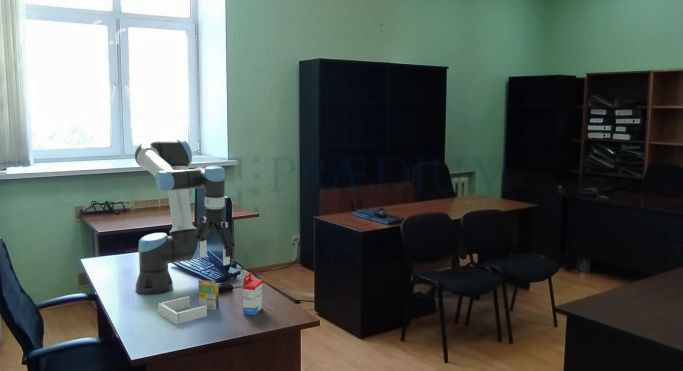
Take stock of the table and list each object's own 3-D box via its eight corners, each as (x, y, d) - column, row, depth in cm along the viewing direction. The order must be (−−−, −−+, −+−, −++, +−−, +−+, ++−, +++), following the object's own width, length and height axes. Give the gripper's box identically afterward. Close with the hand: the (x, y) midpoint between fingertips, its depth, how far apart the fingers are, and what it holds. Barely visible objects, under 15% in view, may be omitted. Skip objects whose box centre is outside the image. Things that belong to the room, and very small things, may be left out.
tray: (158, 313, 221) (158, 303, 220) (188, 305, 229) (188, 296, 229) (176, 324, 211) (176, 314, 210) (206, 316, 219) (206, 306, 219)
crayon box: (219, 307, 229) (218, 279, 227) (216, 310, 226) (215, 281, 224) (201, 305, 230) (201, 277, 228) (198, 308, 227) (198, 279, 225)
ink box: (254, 315, 221) (254, 279, 219) (242, 314, 222) (242, 277, 219) (262, 308, 229) (262, 272, 227) (250, 306, 230) (250, 271, 228)
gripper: (185, 203, 225) (186, 256, 229) (229, 214, 210) (228, 270, 214) (201, 200, 231) (201, 252, 235) (244, 210, 216) (244, 265, 220)
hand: (214, 260), depth 224 cm, fingers open, 13 cm apart
